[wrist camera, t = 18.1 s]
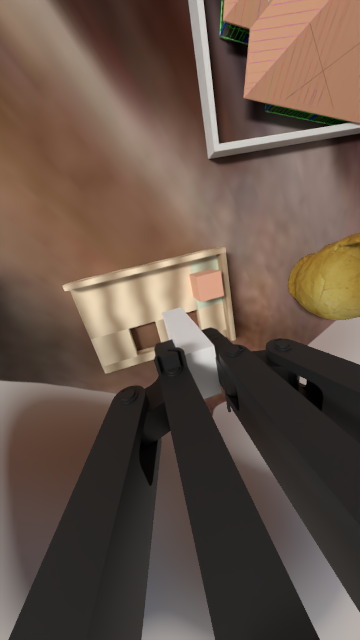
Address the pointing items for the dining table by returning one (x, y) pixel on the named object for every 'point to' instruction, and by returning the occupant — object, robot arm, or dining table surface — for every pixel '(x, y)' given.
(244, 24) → the house
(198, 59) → the serving tray rim
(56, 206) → the dining table surface
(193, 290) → the salmon block
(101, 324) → the cube sorting tray
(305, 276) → the pitcher
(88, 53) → the dining table surface
